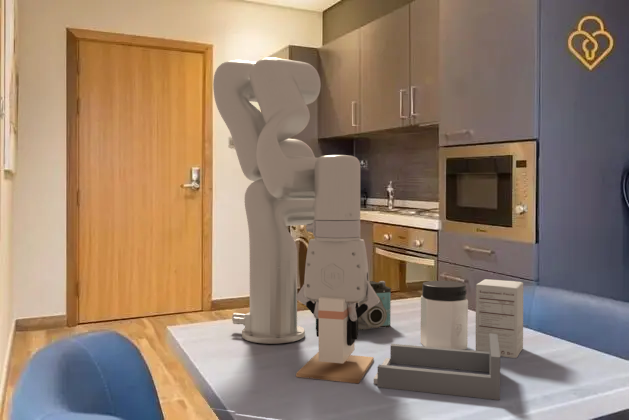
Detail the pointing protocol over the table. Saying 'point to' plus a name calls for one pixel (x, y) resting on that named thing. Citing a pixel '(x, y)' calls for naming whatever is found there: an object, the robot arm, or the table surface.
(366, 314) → the camera
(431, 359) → the frame
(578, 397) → the table surface
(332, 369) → the cork mat
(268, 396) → the table surface
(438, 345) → the jar
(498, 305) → the supplement box
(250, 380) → the table surface
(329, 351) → the taped cardboard box
